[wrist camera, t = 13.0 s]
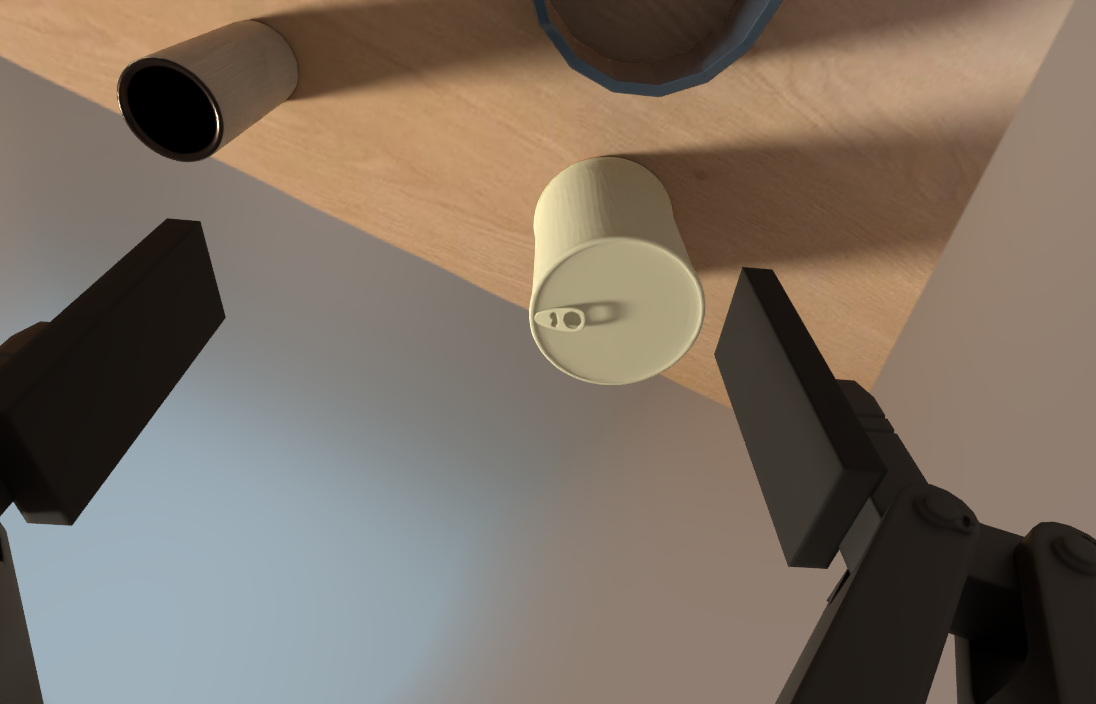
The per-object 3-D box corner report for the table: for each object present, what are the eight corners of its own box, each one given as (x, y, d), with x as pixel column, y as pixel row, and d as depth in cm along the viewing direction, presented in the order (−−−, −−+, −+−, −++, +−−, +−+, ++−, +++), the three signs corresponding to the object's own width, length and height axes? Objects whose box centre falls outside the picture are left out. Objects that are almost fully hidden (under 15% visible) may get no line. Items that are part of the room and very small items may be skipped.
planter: (209, 77, 36) (107, 130, 28) (229, 2, 34) (124, 35, 26) (285, 119, 38) (210, 180, 29) (309, 48, 36) (234, 94, 27)
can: (530, 157, 39) (522, 242, 29) (678, 153, 39) (719, 237, 29) (536, 286, 44) (532, 393, 35) (666, 283, 44) (698, 390, 34)
